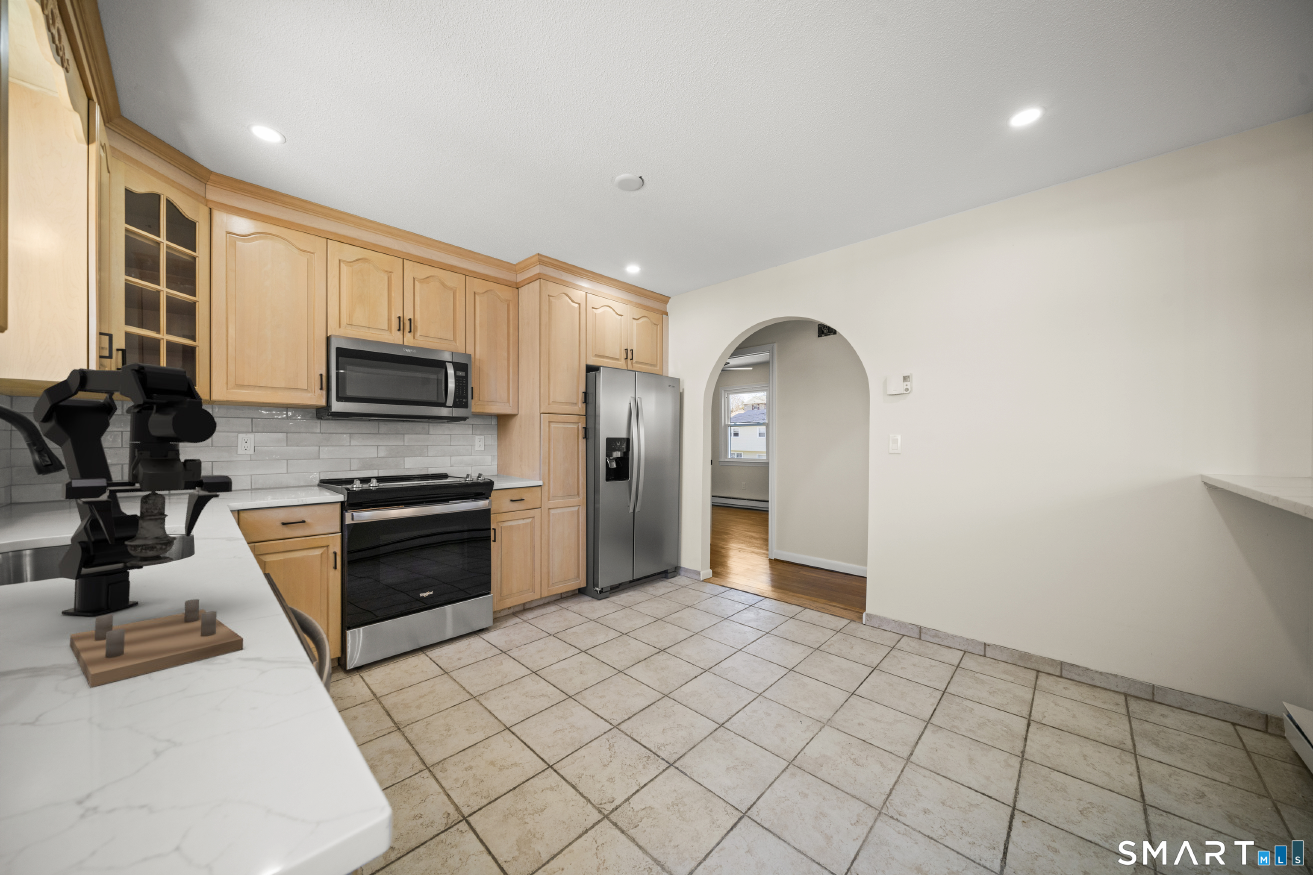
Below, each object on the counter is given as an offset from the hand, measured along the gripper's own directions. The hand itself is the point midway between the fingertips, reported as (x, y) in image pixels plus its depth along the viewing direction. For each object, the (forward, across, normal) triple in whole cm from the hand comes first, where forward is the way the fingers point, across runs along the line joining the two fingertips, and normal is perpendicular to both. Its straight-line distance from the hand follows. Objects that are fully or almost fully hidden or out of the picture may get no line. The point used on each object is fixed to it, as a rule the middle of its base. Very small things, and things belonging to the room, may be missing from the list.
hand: (151, 539), depth 80 cm
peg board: (+13, -2, -16) cm, 20 cm away
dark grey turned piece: (+4, 0, 0) cm, 4 cm away
